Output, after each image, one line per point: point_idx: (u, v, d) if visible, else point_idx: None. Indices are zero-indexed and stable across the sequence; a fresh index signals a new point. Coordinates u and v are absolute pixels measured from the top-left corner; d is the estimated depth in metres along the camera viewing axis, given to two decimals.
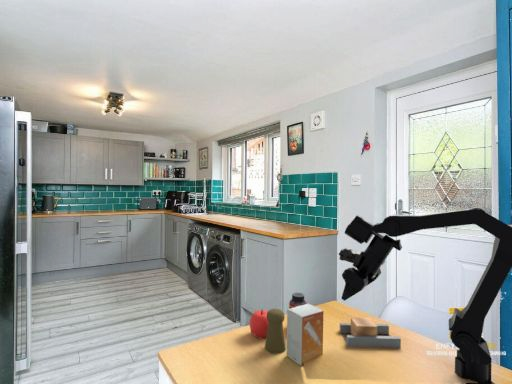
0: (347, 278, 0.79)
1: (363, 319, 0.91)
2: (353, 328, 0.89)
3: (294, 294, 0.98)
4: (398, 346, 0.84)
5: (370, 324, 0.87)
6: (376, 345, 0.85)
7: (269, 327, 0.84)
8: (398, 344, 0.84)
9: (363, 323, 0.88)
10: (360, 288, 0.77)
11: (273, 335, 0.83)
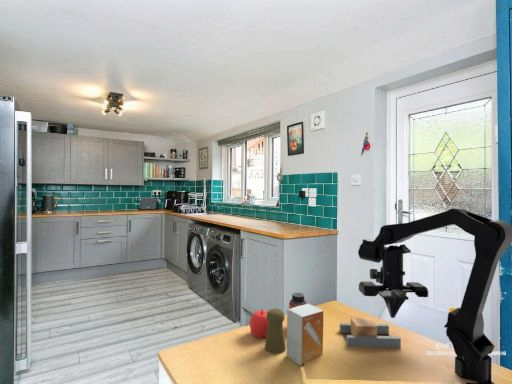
0: (360, 289, 0.91)
1: (363, 319, 0.91)
2: (353, 328, 0.89)
3: (294, 294, 0.98)
4: (398, 346, 0.84)
5: (370, 324, 0.87)
6: (376, 345, 0.85)
7: (269, 327, 0.84)
8: (398, 344, 0.84)
9: (363, 323, 0.88)
10: (365, 294, 0.87)
11: (273, 335, 0.83)
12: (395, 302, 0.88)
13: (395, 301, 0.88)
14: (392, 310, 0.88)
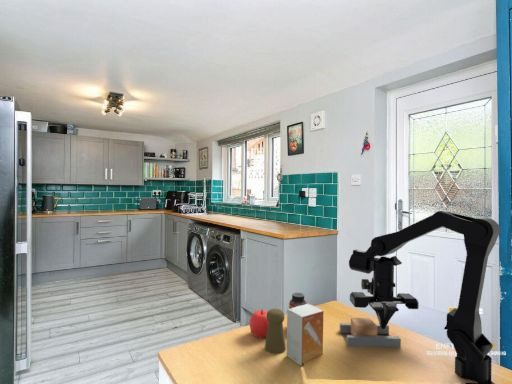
0: (350, 300, 0.91)
1: (363, 319, 0.91)
2: (353, 328, 0.89)
3: (294, 294, 0.98)
4: (398, 346, 0.84)
5: (370, 324, 0.87)
6: (376, 345, 0.85)
7: (269, 327, 0.84)
8: (398, 344, 0.84)
9: (363, 323, 0.88)
10: (355, 305, 0.87)
11: (273, 335, 0.83)
12: (385, 313, 0.88)
13: (385, 312, 0.88)
14: (382, 321, 0.88)
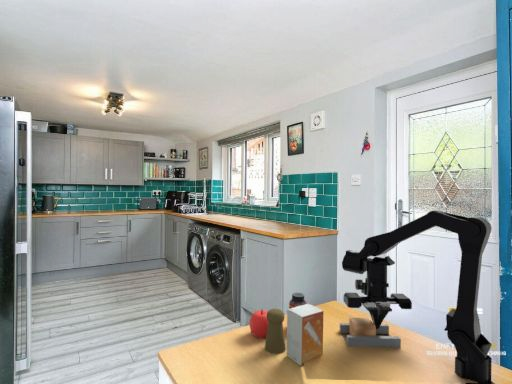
0: (344, 300, 0.91)
1: (362, 319, 0.91)
2: (352, 328, 0.89)
3: (294, 294, 0.98)
4: (398, 346, 0.84)
5: (369, 324, 0.87)
6: (376, 345, 0.85)
7: (269, 327, 0.84)
8: (398, 344, 0.84)
9: (361, 323, 0.88)
10: (348, 306, 0.87)
11: (273, 335, 0.83)
12: (379, 314, 0.88)
13: (379, 313, 0.88)
14: (376, 322, 0.88)
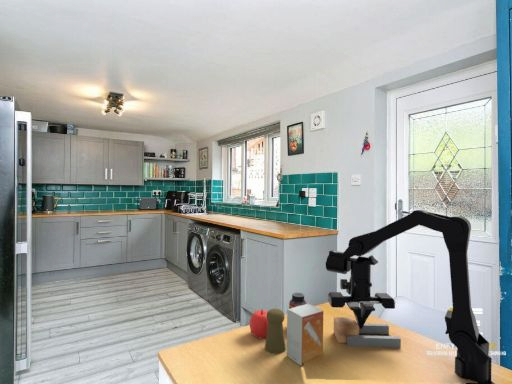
0: (328, 300, 0.91)
1: (346, 319, 0.91)
2: (336, 328, 0.90)
3: (294, 294, 0.98)
4: (398, 346, 0.84)
5: (352, 324, 0.88)
6: (376, 345, 0.85)
7: (269, 327, 0.84)
8: (398, 344, 0.84)
9: (345, 323, 0.88)
10: (332, 305, 0.87)
11: (273, 335, 0.83)
12: (362, 313, 0.88)
13: (362, 312, 0.89)
14: (359, 321, 0.88)
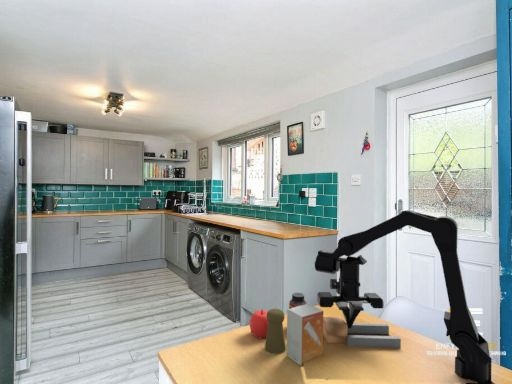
0: (317, 300, 0.91)
1: (335, 318, 0.91)
2: (324, 327, 0.90)
3: (294, 294, 0.98)
4: (398, 346, 0.84)
5: (341, 324, 0.88)
6: (376, 345, 0.85)
7: (269, 327, 0.84)
8: (398, 344, 0.84)
9: (334, 323, 0.88)
10: (320, 305, 0.87)
11: (273, 335, 0.83)
12: (351, 313, 0.89)
13: (351, 312, 0.89)
14: (348, 321, 0.88)
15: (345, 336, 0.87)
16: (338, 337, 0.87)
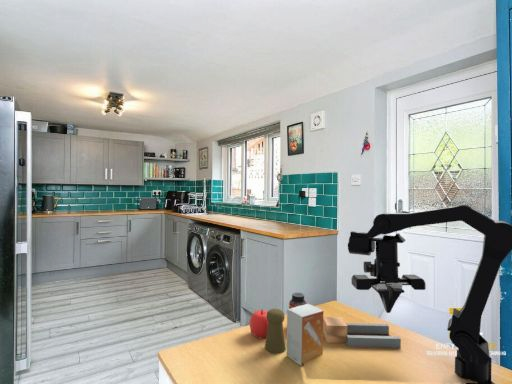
0: (352, 283, 0.85)
1: (335, 318, 0.91)
2: (324, 327, 0.90)
3: (294, 294, 0.98)
4: (398, 346, 0.84)
5: (341, 324, 0.88)
6: (376, 345, 0.85)
7: (269, 327, 0.84)
8: (398, 344, 0.84)
9: (334, 322, 0.88)
10: (357, 287, 0.81)
11: (273, 335, 0.83)
12: (390, 296, 0.82)
13: (390, 295, 0.82)
14: (387, 304, 0.82)
15: (345, 336, 0.87)
16: (338, 337, 0.87)
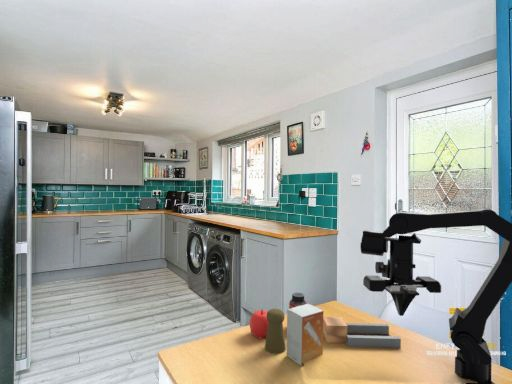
0: (364, 284, 0.82)
1: (335, 318, 0.91)
2: (324, 327, 0.90)
3: (294, 294, 0.98)
4: (398, 346, 0.84)
5: (341, 324, 0.88)
6: (376, 345, 0.85)
7: (269, 327, 0.84)
8: (398, 344, 0.84)
9: (334, 322, 0.88)
10: (370, 289, 0.78)
11: (273, 335, 0.83)
12: (404, 298, 0.79)
13: (404, 297, 0.79)
14: (401, 307, 0.79)
15: (345, 336, 0.87)
16: (338, 337, 0.87)
